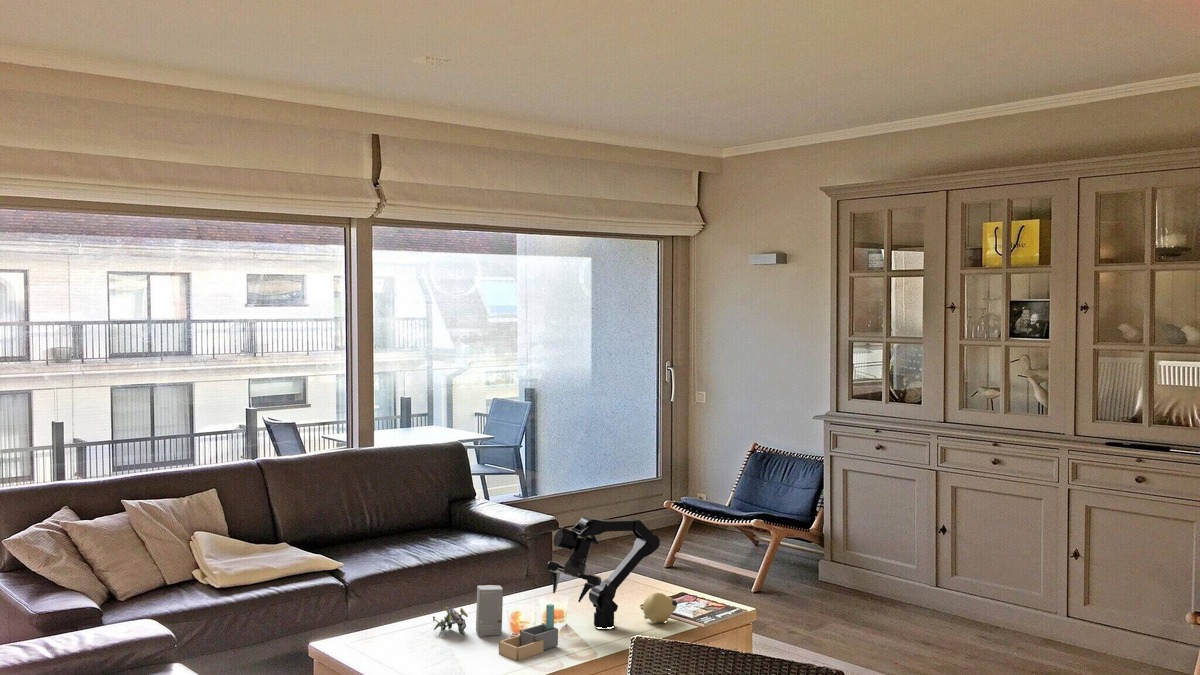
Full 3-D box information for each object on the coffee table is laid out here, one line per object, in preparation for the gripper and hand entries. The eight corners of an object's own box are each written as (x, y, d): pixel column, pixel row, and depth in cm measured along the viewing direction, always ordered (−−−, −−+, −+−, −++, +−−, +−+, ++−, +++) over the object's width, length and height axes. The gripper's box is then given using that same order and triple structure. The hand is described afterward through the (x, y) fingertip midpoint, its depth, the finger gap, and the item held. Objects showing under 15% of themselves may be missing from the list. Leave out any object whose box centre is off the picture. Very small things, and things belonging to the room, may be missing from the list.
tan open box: (524, 645, 318) (525, 633, 318) (543, 652, 312) (543, 640, 312) (498, 653, 310) (499, 641, 310) (517, 660, 304) (517, 648, 304)
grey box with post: (544, 640, 323) (545, 602, 323) (559, 645, 318) (559, 606, 318) (519, 647, 315) (520, 608, 315) (534, 653, 310) (534, 613, 310)
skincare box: (478, 637, 326) (478, 590, 326) (475, 630, 333) (475, 584, 333) (503, 635, 328) (503, 588, 328) (499, 628, 335) (500, 583, 335)
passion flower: (461, 650, 329) (472, 627, 323) (430, 648, 325) (441, 624, 319) (458, 623, 338) (469, 600, 332) (428, 620, 334) (438, 597, 328)
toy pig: (681, 623, 344) (681, 593, 344) (654, 629, 337) (654, 598, 337) (664, 616, 352) (665, 586, 352) (637, 621, 345) (638, 591, 345)
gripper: (549, 544, 328) (535, 590, 326) (601, 562, 324) (587, 608, 322) (557, 544, 339) (543, 588, 337) (607, 561, 334) (593, 606, 332)
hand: (566, 597), depth 331 cm, fingers open, 9 cm apart
